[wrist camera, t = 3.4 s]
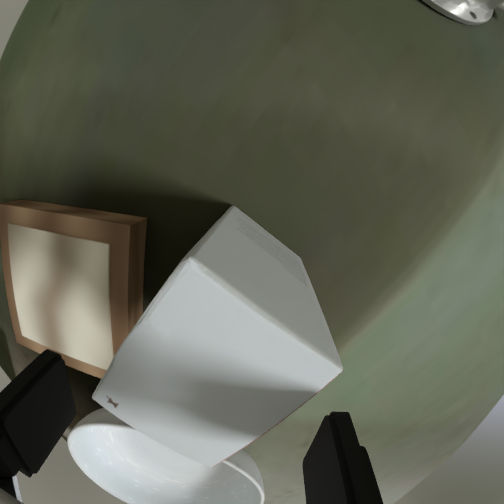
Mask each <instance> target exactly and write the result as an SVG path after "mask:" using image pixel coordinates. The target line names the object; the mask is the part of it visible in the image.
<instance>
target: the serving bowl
mask: <svg viewBox="0 0 504 504" xmlns="http://www.w3.org/2000/svg"><path fill="white" fill-rule="evenodd" d="M67 442H68V448H69V451H70V453H71V455H72V457H73V459H74V460H75V462H76V463H77V465H78V466H79V467H80V468H81V470H82V471H83V472H84V473H85V474H86V475H87V476H88V477H89V478H90V479H91V480H93V481H94V482H95V483H96V484H98V485H99V486H100V487H101V488H103V489H104V490H106V491H107V492H109V493H110V494H112V495H114V496H115V497H117V498H119V499H121V500H123V501H125V502H127V503H128V504H263V503H264V498H265V494H264V487H263V481H262V477H261V474H260V472H259V469H258V467H257V465H256V464H255V462H254V461H253V459H252V458H251V456H250V455H249V454H248V453H247V451H246V450H245V449H244V448H243V449H241V450H240V451H238V452H237V453H235V454H233V455H232V456H230V457H229V458H227V459H225V460H224V461H222V462H221V463H219V464H217V465H216V466H214V467H212V468H210V467H207V466H205V465H203V464H201V463H199V462H196V461H194V460H192V459H190V458H188V457H185V456H183V455H181V454H179V453H177V452H175V451H174V450H172V449H170V448H168V447H166V446H164V445H162V444H160V443H158V442H156V441H155V440H153V439H151V438H150V437H148V436H146V435H144V434H143V433H141V432H139V431H138V430H136V429H134V428H133V427H131V426H130V425H128V424H127V423H125V422H124V421H122V420H121V419H119V418H118V417H116V416H115V415H113V414H112V413H111V412H109V411H108V410H106V409H105V408H101V409H98V410H96V411H94V412H92V413H90V414H88V415H87V416H85V417H84V418H83V419H82V420H81V421H79V422H78V423H77V424H76V425H75V426H74V427H73V428H72V430H71V431H70V433H69V435H68V440H67Z"/></svg>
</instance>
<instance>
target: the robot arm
mask: <svg viewBox="0 0 504 504" xmlns="http://www.w3.org/2000/svg"><path fill="white" fill-rule="evenodd" d="M422 1H423V2H425V3H426V4H428V5H429V6H430V7H432V8H433V9H435V10H436V11H438V12H440V13H442V14H443V15H445V16H447V17H449V18H451V19H453V20H455V21H458V22H461V23H464V24H468V25H480V24H482V23H484V22H486V21H488V20H489V19H490V18H491V17H492V14H493V9H494V8H496V9H497V10H499V11H504V0H422ZM75 414H76V407H75V403H74V400H73V396H72V392H71V388H70V383H69V379H68V374H67V370H66V365H65V361H64V360H63V359H62V356H61V355H60V354H58V353H56V352H54V351H51V350H49V349H46V350H44V351H43V352H42V353H41V354H40V355H39V356H38V357H37V358H36V359H35V360H34V361H32V362H31V363H30V364H29V365H28V366H27V367H26V368H25V369H24V370H23V371H22V372H21V373H20V374H19V375H18V376H17V377H16V378H15V379H14V380H13V381H11V382H10V384H8V385H7V387H5V388H4V389H3V390H2V391H1V392H0V504H23V503H22V499H21V496H20V491H19V486H18V482H17V477H16V474H17V473H18V471H21V472H22V473H23V474H25V475H26V476H28V477H31V476H32V474H33V473H34V474H35V473H37V472H38V471H39V469H40V468H41V466H42V465H43V463H44V462H45V460H46V459H47V457H48V455H49V454H50V452H51V451H52V449H53V448H54V446H55V445H56V443H57V442H58V440H59V439H60V437H61V436H62V434H63V433H64V432H65V430H66V429H67V427H68V426H69V424H70V423H71V421H72V420H73V418H74V417H75ZM303 475H304V484H305V494H306V504H383V501H382V498H381V495H380V491H379V488H378V485H377V481H376V478H375V475H374V472H373V468H372V465H371V462H370V459H369V456H368V453H367V450H366V448H365V447H363V446H360V445H359V442H358V439H357V435H356V432H355V429H354V426H353V423H352V420H351V417H350V414H349V413H348V412H331V413H330V415H326V416H325V417H324V419H323V421H322V423H321V426H320V428H319V430H318V432H317V434H316V436H315V438H314V440H313V442H312V444H311V446H310V448H309V450H308V452H307V454H306V456H305V457H304V460H303Z"/></svg>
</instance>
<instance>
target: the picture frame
mask: <svg viewBox="0 0 504 504" xmlns="http://www.w3.org/2000/svg"><path fill="white" fill-rule="evenodd" d="M147 219H148V218H145V217H138V216H132V215H125V214H119V213H113V212H106V211H99V210H93V209H86V208H79V207H73V206H66V205H59V204H52V203H45V202H38V201H31V200H23V199H20V200H15V201H11V202H6V203H2V204H0V234H1V250H2V261H3V270H4V278H5V285H6V292H7V298H8V304H9V309H10V314H11V319H12V324H13V328H14V333H15V337H16V341H17V343H19V344H21V345H23V346H25V347H27V348H29V349H31V350H33V351H36V352H38V353H40V354H41V353H42V352H43V351H44V350H46V349H49V350H51V351H54V352H56V353H58V354H60V355H61V356H62V359H63V360H64V361H65V365H67V366H69V367H72V368H74V369H77V370H79V371H82V372H85V373H87V374H90V375H92V376H95V377H98V378H101V379H102V377H103V376H104V374H105V372H106V371H107V369H108V367H109V366H110V364H111V362H112V359H113V357H114V355H115V354H116V352H117V351H118V349H119V348H120V346H121V344H122V343H123V342H124V340H125V339H126V337H127V336H128V334H129V333H130V331H131V330H132V329H133V327H134V326H135V324H136V323H137V321H138V320H139V318H140V317H141V316H142V314H143V281H144V259H145V243H146V230H147Z"/></svg>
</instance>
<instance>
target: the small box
mask: <svg viewBox="0 0 504 504" xmlns="http://www.w3.org/2000/svg"><path fill="white" fill-rule="evenodd" d="M342 371H343V367H342V364H341V361H340V358H339V355H338V352H337V350H336V347H335V344H334V342H333V339H332V336H331V334H330V331H329V328H328V326H327V323H326V320H325V318H324V315H323V313H322V310H321V307H320V305H319V303H318V300H317V297H316V295H315V292H314V290H313V287H312V285H311V282H310V279H309V277H308V275H307V272H306V270H305V268H304V265H303V263H302V260H301V258H300V257H299V256H297V255H296V254H295V253H294V252H292V251H291V250H290V249H289V248H287V247H286V246H285V245H283V244H282V243H281V242H280V241H278V240H277V239H276V238H275V237H273V236H272V235H271V234H270V233H268V232H267V231H266V230H265V229H263V228H262V227H261V226H259V225H258V224H257V223H256V222H254V221H253V220H252V219H251V218H249V217H248V216H247V215H245V214H244V213H243V212H242V211H240V210H239V209H238V208H236V207H235V206H231V207H230V208H229V209H228V210H227V211H226V212H225V213H224V215H223V216H222V217H221V218H220V219H219V220H218V221H217V222H216V223H215V224H214V225H213V226H212V227H211V228H210V229H209V230H208V232H207V233H206V234H205V235H204V236H203V237H202V238H201V239H200V240H199V241H198V242H197V244H196V245H195V246H194V247H193V248H192V249H191V250H190V251H189V252H188V253H187V255H186V256H185V257H184V258H183V259H182V260H181V262H180V263H179V264H178V266H177V267H176V268H175V270H174V271H173V272H172V274H171V275H170V276H169V278H168V279H167V280H166V282H165V283H164V285H163V286H162V287H161V289H160V290H159V292H158V293H157V294H156V296H155V297H154V299H153V300H152V301H151V303H150V304H149V306H148V307H147V308H146V310H145V311H144V313H143V314H142V316H141V317H140V318H139V320H138V321H137V323H136V324H135V326H134V327H133V329H132V330H131V331H130V333H129V334H128V336H127V337H126V339H125V340H124V342H123V343H122V344H121V346H120V348H119V349H118V351H117V352H116V354H115V355H114V357H113V359H112V362H111V364H110V366H109V367H108V369H107V371H106V372H105V374H104V376H103V377H102V379H101V381H100V382H99V384H98V386H97V388H96V390H95V391H94V393H93V395H92V398H93V399H94V400H95V401H96V402H97V403H99V404H100V405H101V406H102V407H104V408H105V409H106V410H108V411H109V412H111V413H112V414H113V415H115V416H116V417H118V418H119V419H121V420H122V421H124V422H125V423H127V424H128V425H130V426H131V427H133V428H134V429H136V430H138V431H139V432H141V433H143V434H144V435H146V436H148V437H150V438H151V439H153V440H155V441H156V442H158V443H160V444H162V445H164V446H166V447H168V448H170V449H172V450H174V451H175V452H177V453H179V454H181V455H183V456H185V457H188V458H190V459H192V460H194V461H196V462H199V463H201V464H203V465H205V466H207V467H210V468H212V467H214V466H216V465H217V464H219V463H221V462H222V461H224V460H225V459H227V458H229V457H230V456H232V455H233V454H235V453H237V452H238V451H240V450H241V449H243V448H244V447H246V446H247V445H249V444H250V443H252V442H253V441H255V440H256V439H257V438H259V437H260V436H262V435H263V434H265V433H266V432H267V431H269V430H270V429H272V428H273V427H274V426H276V425H277V424H279V423H280V422H281V421H283V420H284V419H285V418H286V417H288V416H289V415H290V414H292V413H293V412H294V411H296V410H297V409H298V408H299V407H301V406H302V405H303V404H304V403H306V402H307V401H308V400H309V399H311V398H312V397H313V396H314V395H315V394H317V393H318V392H319V391H320V390H321V389H323V388H324V387H325V386H326V385H327V384H328V383H330V382H331V381H332V380H333V379H334V378H335V377H336V376H338V375H339V374H340V373H341V372H342Z"/></svg>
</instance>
